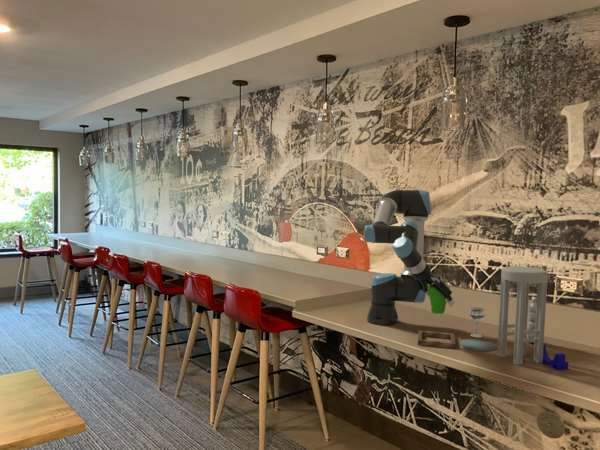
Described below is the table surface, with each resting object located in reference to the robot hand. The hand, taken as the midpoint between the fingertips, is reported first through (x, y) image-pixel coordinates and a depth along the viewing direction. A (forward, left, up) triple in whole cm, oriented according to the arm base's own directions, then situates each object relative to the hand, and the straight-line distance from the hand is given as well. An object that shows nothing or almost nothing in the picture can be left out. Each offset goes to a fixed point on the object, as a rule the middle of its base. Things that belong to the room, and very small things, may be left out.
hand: (443, 302), depth 209 cm
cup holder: (+1, -3, -17) cm, 17 cm away
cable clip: (+36, +24, -17) cm, 46 cm away
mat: (+10, +11, -17) cm, 22 cm away
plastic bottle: (+13, +37, -17) cm, 43 cm away
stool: (+28, +16, -17) cm, 36 cm away
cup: (+1, -3, -4) cm, 5 cm away
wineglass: (-2, +19, -17) cm, 26 cm away
